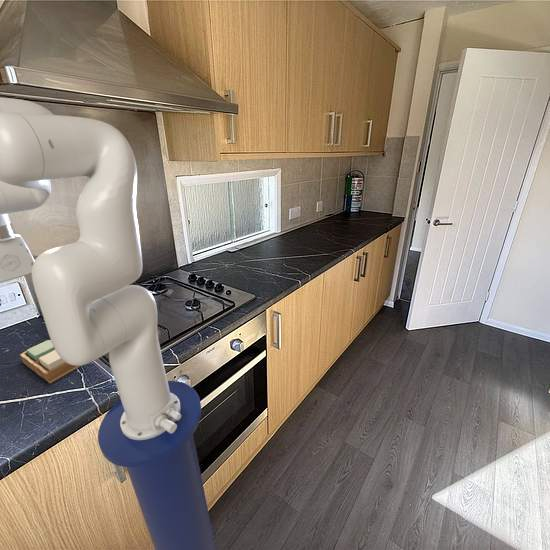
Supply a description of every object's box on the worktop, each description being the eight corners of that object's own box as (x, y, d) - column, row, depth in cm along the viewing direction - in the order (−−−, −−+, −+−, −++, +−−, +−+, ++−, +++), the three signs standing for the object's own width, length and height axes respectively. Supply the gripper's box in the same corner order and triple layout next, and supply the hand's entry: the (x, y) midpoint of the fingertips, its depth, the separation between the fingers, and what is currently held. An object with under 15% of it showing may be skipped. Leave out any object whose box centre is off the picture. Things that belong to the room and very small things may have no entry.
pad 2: (74, 363, 81) (70, 352, 80) (52, 375, 77) (48, 364, 76) (64, 357, 84) (60, 346, 83) (43, 368, 80) (38, 358, 78)
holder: (83, 364, 82) (80, 355, 81) (50, 383, 76) (46, 374, 74) (55, 347, 90) (52, 338, 89) (23, 363, 83) (19, 354, 82)
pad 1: (61, 355, 85) (57, 345, 84) (39, 366, 81) (35, 356, 79) (52, 349, 88) (48, 339, 86) (30, 360, 84) (26, 349, 82)
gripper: (-52, 245, 61) (-17, 315, 68) (42, 227, 75) (63, 287, 81) (-62, 240, 65) (-28, 308, 72) (29, 224, 78) (50, 282, 85)
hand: (20, 297), depth 77 cm, fingers open, 9 cm apart
